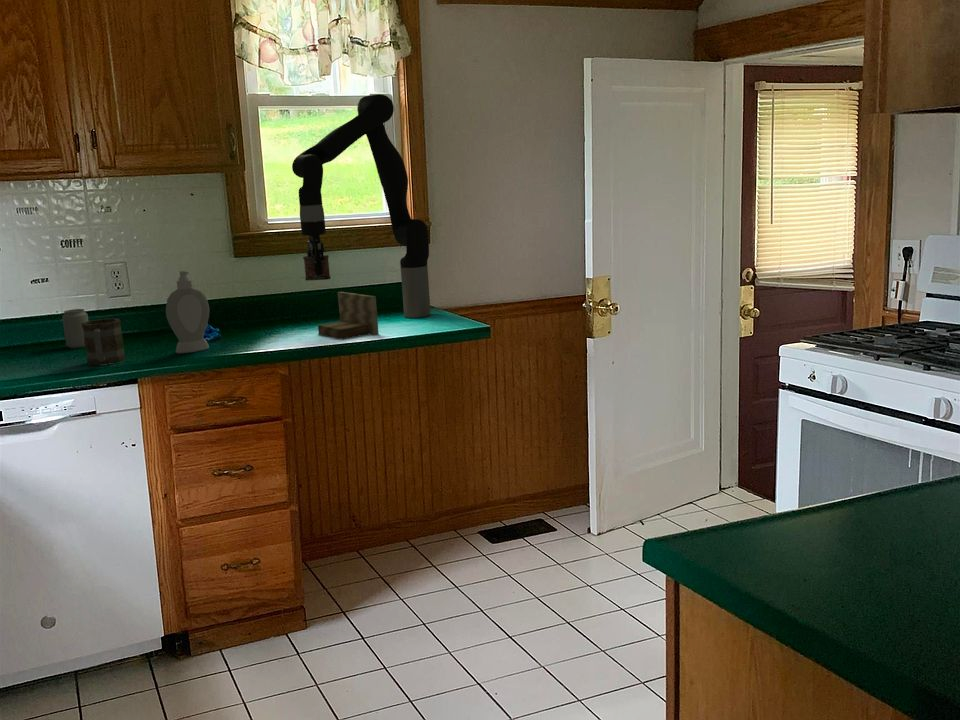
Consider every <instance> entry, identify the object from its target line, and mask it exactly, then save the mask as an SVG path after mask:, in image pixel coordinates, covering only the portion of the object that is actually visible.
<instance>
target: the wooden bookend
mask: <svg viewBox="0 0 960 720" xmlns="http://www.w3.org/2000/svg"><path fill="white" fill-rule="evenodd" d="M337 301H338V311H339V321H334V322H328V323H322V324H317V327H318V328H317V329H318V335H320V336H325V337H330V338H334V339H339V340H344V339H350V338H356V337H357V338H358V337H360V336H366V335H367V336H368V335H373V336H377V335H379V333H380V332H379V321H378V310H377V309H378V308H377V296H375V295H369V294H368V295H367V294H361V293H354V292H348V291H347V292H346V291H338V292H337Z"/></svg>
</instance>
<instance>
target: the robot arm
mask: <svg viewBox="0 0 960 720" xmlns="http://www.w3.org/2000/svg"><path fill="white" fill-rule="evenodd" d="M356 108H357V115H356V116H355V117H353V118H352V119H351V120H349V121H347V122H345V123H343V124H341V125H340V126H338V127H337V128H335V129H333V130H332V131H330V132H329V133H328V134H327V135H325V136H324V137H323V138H322V139H321V140H319V141H318V142H317V143H316V144H314V145H313V146H311V147H309V148H307V149H306V150H304V151H302V152H301V153H299V155H297V156H296V157H295V158H294V160H293V161H292V165H291V166H292V167H291V169H292V172H293V174H294V175H295V176H296V177H298V178H302V185H301V187H300V188H299V189H298V200H299V201H298V203H299V220H300V221H299V222H300V228H301V229H300V231H301V235H302V236H304V237H308V240H307V241H306V246H307V250H308V249H309V250H310V249H311V253H310V254H312V256H313V257H314V263H315V273H316V275H322V274H323V269H322V262H323V261H324V257H323V255H324V252H323V248H324V242H323V241H322V240H321V237H320V236H322V235H323V236H324V235H326V233H327V231H326V221H325V219H326V218H325V212H324V211H325V210H324V206H323V196H322V187H323V186H322V185H323V178H324V166H323V165H324V164H327V163H331V162H332V161H334V160H335V159H336V158H337V157H339V156H340V155H341V154H342V153H344V152H345V151H346V150H347V149H348V148H349V147H351V145H353V144H354V143H355V142H357V141H358V140H359V139H360V138H362V137H363V136H366V138H367V141H368V144H369V147H370V151H371V154H372V158H373V160H374V162H375V167H376V171H377V175H378V179H379V181H380V183H381V184H380V185H381V188H382V191H383V193H384V198H385V200H386V205H387V208H388V214H389V218H390V222H391V223H390V224H391V230H392V234H393V236H394V240H395V241H396V242H397V243H398V244H399V245H400V246H404V247H406V248H405V249H406V252H405V253H406V254H405V255H404V256H403V257H401V259H400V261H399V265H400V275H401V276H400V278H401V279H400V280H401V290H402V291H401V292H402V303H403V317H404V318H409V319H412V318H413V319H414V318H425V317H429V316H431V300H430V297H431V296H430V283H429V281H430V280H429V270H428V260H429V257H430V237H429V235H430V234H429V229H428V226H427V224H426V222H425V221H423V220H422V219H416V218H411V216H410V212H409V209H408V205H407V196H408V195H407V194H408V189H409V188H408V187H409V177H408V173H407V170H406V166H405V162H404V160H403V158H402V156H401V154H400V152H399V151H398V150H397V148H396V147H395V145H394V144H393V143H392V141H391V140H390V137H389V135H388V134H387V133H388V132H387V131H386V128H385V123H386V122H388V121H389V120H391V118H393V117H392V116H393V114H394V110H395V108H394V103H393V101H392V99H391V98H390V97H389V96H387V95H384V94H381V93H380V94H378V93H377V94H371V95H364V96H362V97H361V98H360V99H359V100H358V103H357V107H356ZM314 252H315V253H314ZM317 256H320V257H318V258H317Z"/></svg>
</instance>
